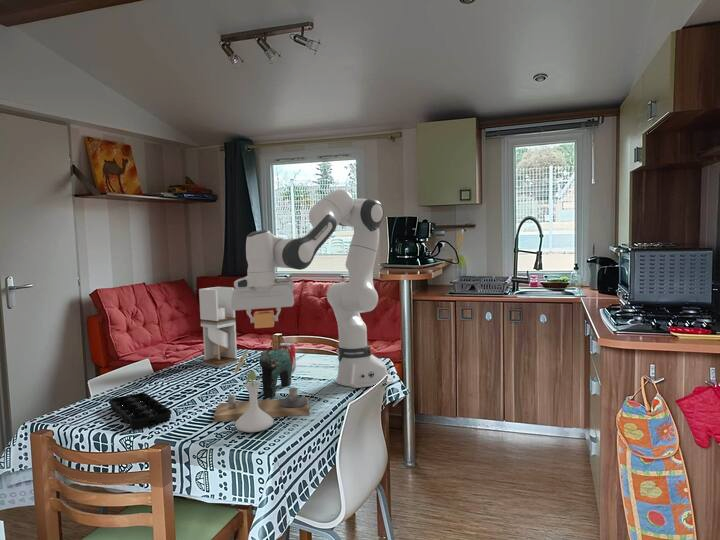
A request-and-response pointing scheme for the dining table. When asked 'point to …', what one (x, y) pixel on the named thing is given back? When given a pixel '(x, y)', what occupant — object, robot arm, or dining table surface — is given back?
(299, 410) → the base board
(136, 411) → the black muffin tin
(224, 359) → the white block sculpture
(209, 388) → the dining table surface
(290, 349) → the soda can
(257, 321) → the orange slotted block
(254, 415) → the flower in vase
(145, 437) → the dining table surface
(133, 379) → the dining table surface
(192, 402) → the dining table surface
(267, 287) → the robot arm
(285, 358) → the green animal figurine
